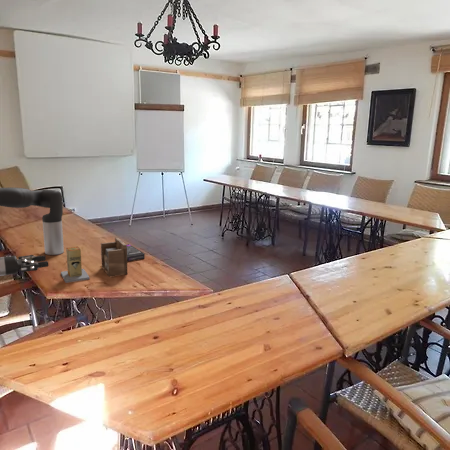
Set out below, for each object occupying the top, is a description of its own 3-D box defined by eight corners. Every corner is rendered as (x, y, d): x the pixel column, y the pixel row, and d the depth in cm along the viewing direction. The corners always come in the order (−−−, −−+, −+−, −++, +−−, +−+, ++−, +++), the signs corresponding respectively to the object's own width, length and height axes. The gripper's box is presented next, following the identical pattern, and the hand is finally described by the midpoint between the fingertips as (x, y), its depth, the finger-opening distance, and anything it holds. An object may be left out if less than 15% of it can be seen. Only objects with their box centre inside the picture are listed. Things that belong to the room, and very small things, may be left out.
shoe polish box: (81, 275, 177) (80, 249, 175) (70, 277, 175) (68, 251, 172) (79, 271, 181) (77, 246, 179) (67, 273, 179) (66, 248, 176)
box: (104, 254, 213) (119, 264, 198) (104, 248, 212) (118, 257, 197) (129, 250, 221) (145, 259, 206) (129, 244, 220) (144, 252, 205)
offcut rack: (101, 267, 191) (100, 239, 188) (118, 264, 195) (117, 237, 192) (109, 276, 179) (108, 247, 176) (127, 274, 183) (126, 245, 180)
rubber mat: (61, 273, 181) (60, 271, 181) (83, 270, 186) (83, 268, 186) (65, 282, 171) (65, 280, 171) (89, 279, 176) (89, 277, 176)
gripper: (3, 262, 156) (48, 257, 164) (2, 252, 168) (44, 247, 176) (5, 280, 158) (49, 274, 166) (3, 269, 169) (45, 264, 178)
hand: (46, 260), depth 171 cm, fingers open, 8 cm apart
